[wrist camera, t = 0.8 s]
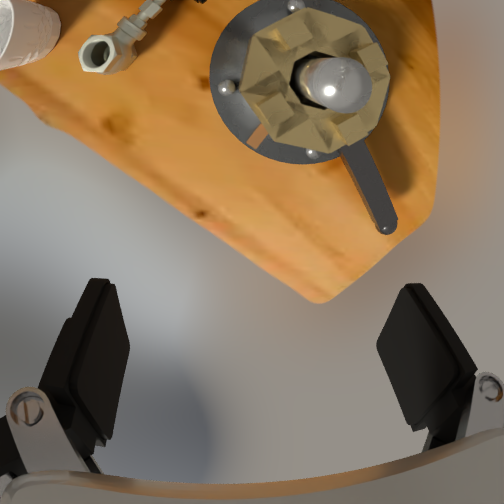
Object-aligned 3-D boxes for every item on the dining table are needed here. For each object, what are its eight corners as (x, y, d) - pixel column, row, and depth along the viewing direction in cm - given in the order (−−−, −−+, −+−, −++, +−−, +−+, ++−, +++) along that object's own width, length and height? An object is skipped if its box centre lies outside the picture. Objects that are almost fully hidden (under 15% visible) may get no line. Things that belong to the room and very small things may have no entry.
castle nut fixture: (216, 59, 25) (213, 57, 19) (325, 1, 22) (349, -13, 16) (339, 246, 37) (357, 281, 32) (421, 197, 34) (450, 224, 29)
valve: (129, 87, 27) (212, 3, 23) (107, 93, 22) (208, -12, 18) (87, 53, 25) (166, -31, 20) (58, 53, 19) (152, -51, 15)
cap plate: (283, -33, 21) (316, -83, 10) (409, 75, 28) (486, 92, 17) (175, 96, 28) (143, 116, 18) (311, 189, 35) (349, 252, 24)
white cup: (29, 80, 25) (-26, 94, 16) (3, 38, 21) (-53, 43, 12) (77, 32, 23) (26, 28, 15) (48, -10, 19) (-3, -22, 11)
